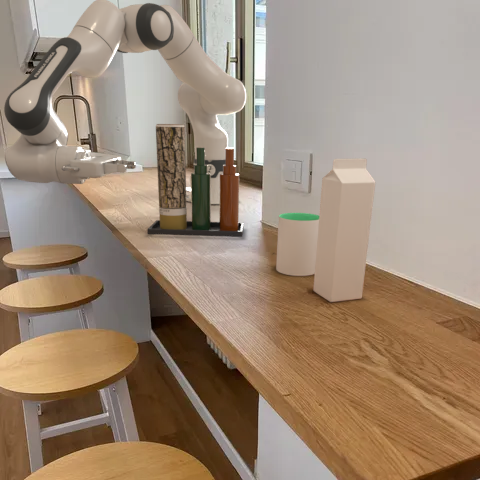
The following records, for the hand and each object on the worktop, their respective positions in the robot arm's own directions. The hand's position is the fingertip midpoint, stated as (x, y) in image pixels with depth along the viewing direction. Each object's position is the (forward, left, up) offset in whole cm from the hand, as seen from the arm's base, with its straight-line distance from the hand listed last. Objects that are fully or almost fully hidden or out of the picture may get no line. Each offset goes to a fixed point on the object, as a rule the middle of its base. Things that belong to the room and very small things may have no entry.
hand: (130, 166), depth 120 cm
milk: (+45, +45, -16) cm, 66 cm away
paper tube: (0, +10, -15) cm, 18 cm away
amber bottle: (0, +24, -15) cm, 29 cm away
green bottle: (0, +17, -15) cm, 23 cm away
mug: (+30, +41, -16) cm, 53 cm away
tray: (0, +16, -16) cm, 23 cm away
